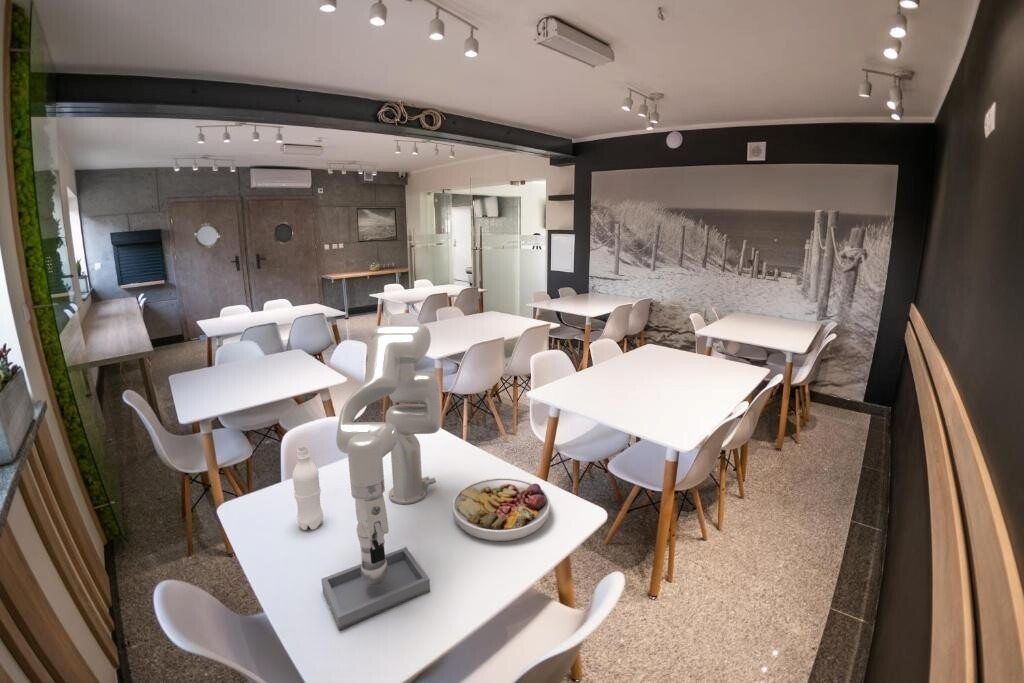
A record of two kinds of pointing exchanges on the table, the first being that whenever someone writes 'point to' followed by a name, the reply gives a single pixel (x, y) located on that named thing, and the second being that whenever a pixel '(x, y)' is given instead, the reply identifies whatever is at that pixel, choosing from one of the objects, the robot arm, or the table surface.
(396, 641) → the table surface
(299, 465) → the water bottle
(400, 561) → the tray
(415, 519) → the table surface
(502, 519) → the bowl
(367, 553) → the plastic bottle
